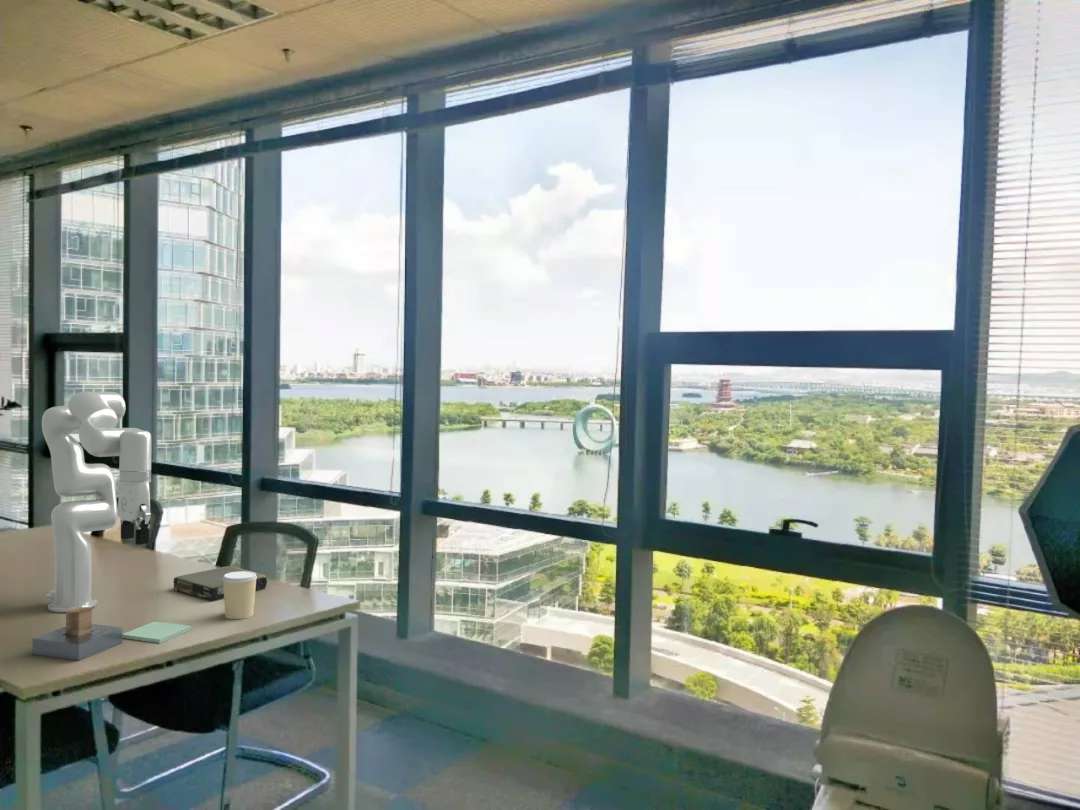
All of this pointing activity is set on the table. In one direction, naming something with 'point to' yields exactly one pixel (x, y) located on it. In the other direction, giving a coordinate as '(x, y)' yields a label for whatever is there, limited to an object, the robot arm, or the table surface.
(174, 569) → the table surface
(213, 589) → the network switch
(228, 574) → the coffee cup
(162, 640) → the green pad
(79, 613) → the walnut peg
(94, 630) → the hole block
